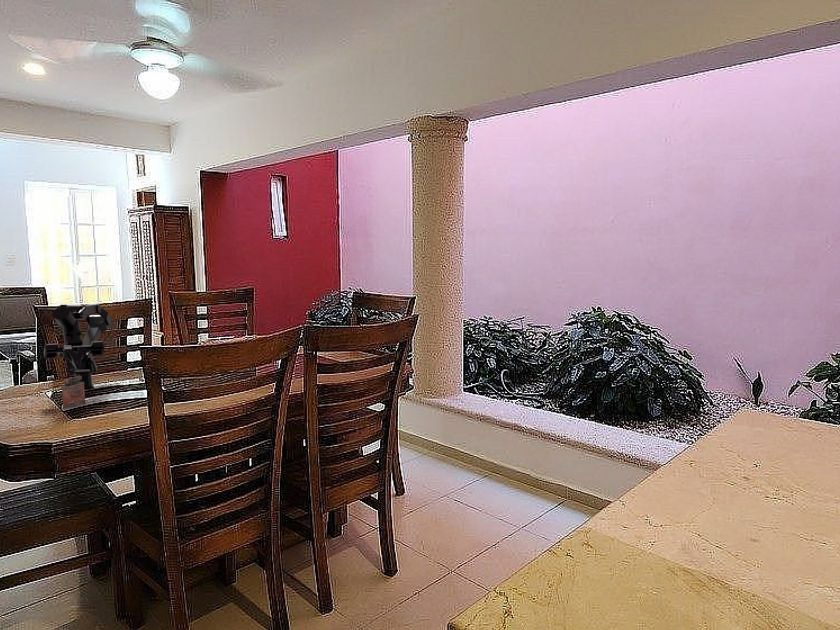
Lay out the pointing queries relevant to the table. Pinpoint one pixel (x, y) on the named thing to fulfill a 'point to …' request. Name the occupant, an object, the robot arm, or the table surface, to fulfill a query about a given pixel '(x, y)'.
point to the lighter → (73, 392)
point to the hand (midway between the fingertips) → (77, 369)
